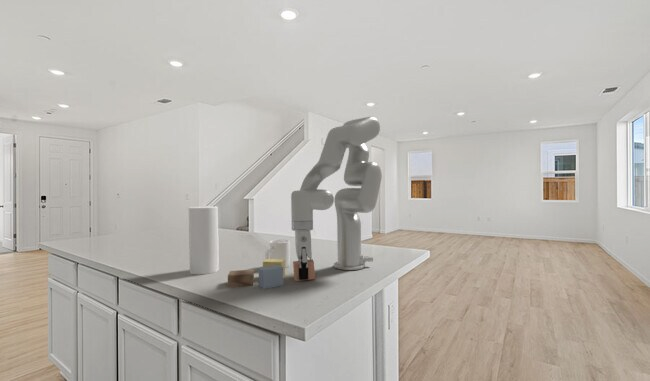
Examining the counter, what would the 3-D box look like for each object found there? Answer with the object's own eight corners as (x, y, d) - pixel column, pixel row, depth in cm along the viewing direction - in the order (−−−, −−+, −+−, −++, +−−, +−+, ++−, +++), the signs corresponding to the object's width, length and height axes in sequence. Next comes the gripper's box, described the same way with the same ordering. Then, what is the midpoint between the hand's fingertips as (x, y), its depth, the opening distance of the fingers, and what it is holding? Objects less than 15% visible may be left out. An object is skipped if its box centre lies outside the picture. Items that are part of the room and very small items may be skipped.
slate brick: (278, 282, 112) (277, 264, 111) (283, 285, 108) (283, 267, 108) (258, 286, 108) (258, 267, 108) (263, 289, 104) (263, 270, 104)
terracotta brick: (313, 275, 117) (312, 259, 117) (315, 278, 113) (313, 261, 113) (294, 278, 116) (292, 261, 116) (295, 281, 112) (293, 264, 112)
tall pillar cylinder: (218, 266, 134) (217, 205, 134) (219, 272, 124) (217, 207, 124) (190, 268, 131) (189, 206, 131) (188, 275, 121) (187, 208, 121)
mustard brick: (285, 276, 119) (285, 259, 119) (281, 279, 115) (281, 262, 115) (267, 275, 121) (266, 259, 120) (263, 278, 117) (262, 261, 117)
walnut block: (253, 281, 114) (253, 269, 114) (252, 286, 108) (252, 274, 108) (230, 282, 113) (230, 270, 113) (227, 287, 107) (227, 275, 107)
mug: (273, 272, 125) (272, 245, 124) (258, 269, 130) (258, 243, 129) (294, 265, 134) (294, 240, 134) (279, 263, 139) (279, 238, 139)
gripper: (315, 228, 107) (316, 283, 107) (310, 222, 123) (311, 270, 123) (292, 228, 105) (293, 285, 106) (290, 223, 122) (291, 271, 122)
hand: (303, 277), depth 115 cm, fingers closed on terracotta brick, 3 cm apart
